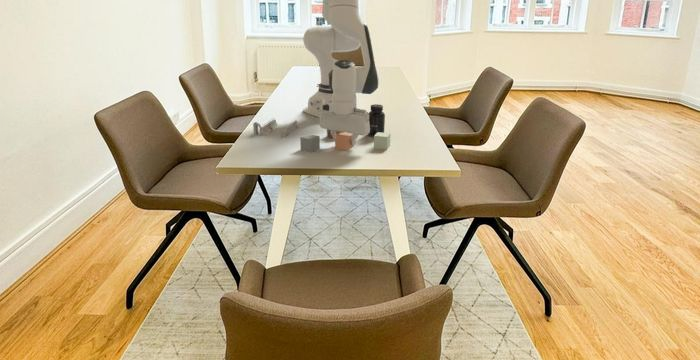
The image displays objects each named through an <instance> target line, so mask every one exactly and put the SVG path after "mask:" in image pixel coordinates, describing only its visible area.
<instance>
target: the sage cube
mask: <svg viewBox="0 0 700 360" xmlns="http://www.w3.org/2000/svg"><path fill="white" fill-rule="evenodd" d="M373 138H374V139H373V149H375V150H376V149H377V150H387V151H388V149H389V148H390V147H391V133H390V132H384V133H382V132H377V133H376V134H375V135H374V137H373Z"/></svg>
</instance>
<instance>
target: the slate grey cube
mask: <svg viewBox="0 0 700 360" xmlns="http://www.w3.org/2000/svg"><path fill="white" fill-rule="evenodd" d="M299 138H300V141H299V143H300V151H305V152H309V153H313V152H316V151H318V150H321V148H320V147H321V145H320V144H321V143H320V142H321V141H320V140H321V139H320V138H321V137H320V135H316V134H311V133H308V134H304V135H302V136H300V137H299Z"/></svg>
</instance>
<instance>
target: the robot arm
mask: <svg viewBox="0 0 700 360" xmlns="http://www.w3.org/2000/svg"><path fill="white" fill-rule="evenodd" d="M321 10H322V11H321V16H322V18H323V19H324V20H325V22H327V23H328V24H330V26H315V27H311V28H307V30H306V31H305V32H304V35H303V38H302V39H303V45H304V47H305V49H306V50H307V51H308V52H310V53H311V54H312V55H313V56H314V58H316V60H317V63H318V65H319V71H320V83H318V84H316V85H317V86H316V88H318V90H317V92H315V93H313V95H311V96H310V97H309V99H308V102H307V107H305V108H302V112H303V113H306V114H308V115H310V116H314V117H317V118H319V126H320V128H321V129H322V130H327V129H328V130H330V133H331V135H332V136H333V139H332V141H333V142H334V143H335V135H336V132H337V131H339V132H344V133H349V134H352V136H353V139H352V140H350V145H354V146H355V145H356V143H357V142H356V140H357V139H358V138H359V136H367V135H368V133H369V132H370V123H369V111H367V110H366V109H360V108H357V103H358V102H357V95H356V94H365V95H371V94H374V92H375V91H376V90H378V89H379V88H378V87H379V85H380V77H379V73H378V71H377V68H376V67H377V66H376V62H375V57H374V51H373V50H374V49H373V47H372V46H373V45H372V40H371V39H372V38H371V35H370V30H369V28H368V27H369V26H368V25H367V23H366V22H364V21H363V20H362V18H361V16H360V13H359V0H322V9H321ZM359 48H360V49H361V54H362V59H363V66H356V65H355V62H354V61H351V60H349V59H340V60H338V59H335V58H334V57H333V53H348V52H352V51H357V50H358V49H359Z"/></svg>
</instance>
